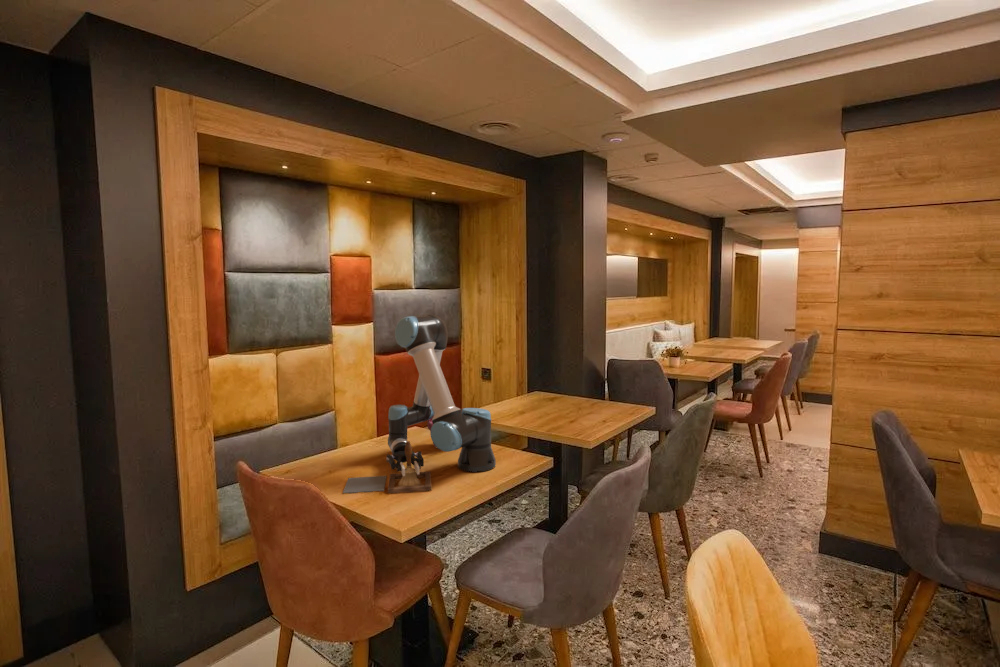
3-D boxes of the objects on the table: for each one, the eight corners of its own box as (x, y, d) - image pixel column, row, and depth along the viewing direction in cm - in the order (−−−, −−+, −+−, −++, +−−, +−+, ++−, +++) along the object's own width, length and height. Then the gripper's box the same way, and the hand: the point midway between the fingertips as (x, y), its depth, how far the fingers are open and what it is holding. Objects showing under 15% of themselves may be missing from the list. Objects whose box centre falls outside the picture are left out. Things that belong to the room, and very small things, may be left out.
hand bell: (424, 485, 184) (423, 442, 183) (402, 490, 180) (400, 446, 179) (416, 478, 191) (415, 436, 190) (394, 482, 187) (393, 440, 186)
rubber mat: (386, 476, 193) (386, 475, 193) (383, 491, 180) (383, 490, 180) (348, 479, 191) (348, 478, 191) (342, 493, 178) (342, 492, 178)
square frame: (430, 475, 194) (430, 471, 194) (431, 490, 180) (431, 486, 180) (390, 477, 192) (390, 473, 192) (387, 493, 177) (387, 489, 177)
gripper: (423, 457, 206) (435, 479, 184) (379, 462, 200) (386, 484, 178) (423, 439, 205) (435, 458, 183) (378, 443, 199) (386, 464, 177)
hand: (411, 471), depth 181 cm, fingers closed on hand bell, 4 cm apart
